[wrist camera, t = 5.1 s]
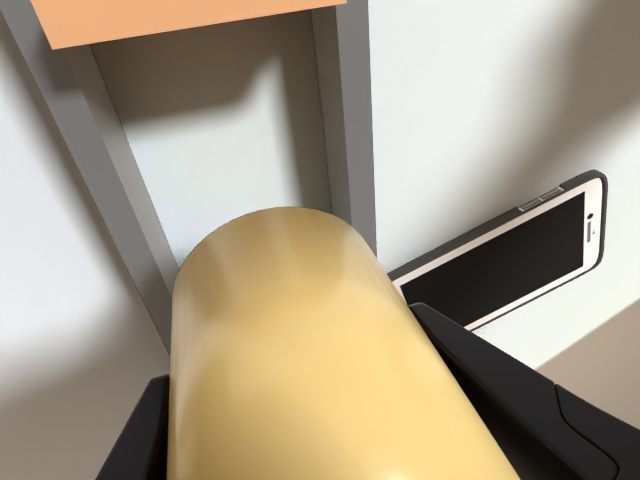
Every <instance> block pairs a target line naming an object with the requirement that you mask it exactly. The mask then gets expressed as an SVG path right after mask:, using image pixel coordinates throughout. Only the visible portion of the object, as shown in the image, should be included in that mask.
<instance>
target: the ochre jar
mask: <svg viewBox="0 0 640 480" xmlns="http://www.w3.org/2000/svg"><path fill="white" fill-rule="evenodd" d="M167 480H521V479H520V478H519V476H518V475H517V473H516V471H515V470H514V468H513V467H512V465H511V464H510V462H509V461H508V459H507V458H506V456H505V455H504V453H503V452H502V450H501V448H500V447H499V445H498V444H497V442H496V441H495V439H494V438H493V436H492V435H491V433H490V432H489V430H488V429H487V427H486V425H485V424H484V422H483V421H482V419H481V418H480V416H479V415H478V413H477V412H476V410H475V409H474V407H473V406H472V404H471V402H470V401H469V399H468V398H467V396H466V395H465V393H464V392H463V390H462V389H461V387H460V386H459V384H458V382H457V381H456V379H455V378H454V376H453V375H452V373H451V372H450V370H449V369H448V367H447V366H446V364H445V363H444V361H443V359H442V358H441V356H440V355H439V353H438V352H437V350H436V349H435V347H434V346H433V344H432V343H431V341H430V340H429V338H428V336H427V335H426V333H425V332H424V330H423V329H422V327H421V326H420V324H419V323H418V321H417V320H416V318H415V317H414V315H413V313H412V312H411V310H410V309H409V307H408V306H407V304H406V303H405V301H404V300H403V298H402V297H401V295H400V294H399V292H398V290H397V289H396V287H395V286H394V284H393V283H392V281H391V280H390V278H389V277H388V275H387V274H386V272H385V271H384V269H383V267H382V266H381V264H380V263H379V261H378V260H377V258H376V257H375V255H374V254H373V252H372V251H371V249H370V247H369V246H368V244H367V243H366V241H365V240H364V239H363V237H362V236H361V235H360V234H359V233H358V232H357V231H356V230H355V229H354V228H353V227H352V226H351V225H349V224H348V223H347V222H345V221H344V220H342V219H340V218H338V217H336V216H334V215H332V214H329V213H326V212H323V211H320V210H316V209H311V208H305V207H275V208H270V209H264V210H259V211H256V212H252V213H249V214H245V215H243V216H241V217H238V218H236V219H233V220H231V221H229V222H228V223H226V224H224V225H222V226H220V227H219V228H217V229H216V230H214V231H213V232H212V233H210V234H209V235H208V236H206V237H205V238H204V239H203V240H202V241H201V242H200V243H199V244H198V245H197V246H196V247H195V248H194V249H193V250H192V251H191V253H190V254H189V255H188V256H187V258H186V259H185V261H184V263H183V264H182V266H181V268H180V270H179V272H178V275H177V277H176V280H175V284H174V288H173V298H172V328H171V360H170V391H169V422H168V453H167Z"/></svg>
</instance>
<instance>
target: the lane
mask: <svg viewBox="0 0 640 480" xmlns="http://www.w3.org/2000/svg"><path fill="white" fill-rule="evenodd" d="M0 11H1V13H2V15H3V17H4V19H5V21H6V23H7V25H8V27H9V29H10V31H11V33H12V35H13V37H14V39H15V41H16V43H17V45H18V47H19V49H20V51H21V53H22V55H23V57H24V59H25V62H26V64H27V66H28V68H29V70H30V72H31V74H32V76H33V78H34V80H35V82H36V84H37V86H38V88H39V90H40V92H41V94H42V96H43V98H44V100H45V102H46V104H47V106H48V108H49V110H50V112H51V114H52V116H53V119H54V121H55V123H56V125H57V127H58V129H59V131H60V133H61V135H62V137H63V139H64V141H65V143H66V145H67V147H68V149H69V151H70V153H71V155H72V157H73V159H74V161H75V163H76V165H77V167H78V169H79V171H80V174H81V176H82V178H83V180H84V182H85V184H86V186H87V188H88V190H89V192H90V194H91V196H92V198H93V200H94V202H95V204H96V206H97V208H98V210H99V212H100V214H101V216H102V218H103V220H104V222H105V224H106V226H107V228H108V231H109V233H110V235H111V237H112V239H113V241H114V243H115V245H116V247H117V249H118V251H119V253H120V255H121V257H122V259H123V261H124V263H125V265H126V267H127V269H128V271H129V273H130V275H131V277H132V279H133V281H134V283H135V285H136V288H137V290H138V292H139V294H140V296H141V298H142V300H143V302H144V304H145V306H146V308H147V310H148V312H149V314H150V316H151V318H152V320H153V322H154V324H155V326H156V328H157V330H158V332H159V334H160V336H161V338H162V340H163V343H164V345H165V347H166V349H167V351H168V353H169V355H170V357H171V328H172V298H173V288H174V284H175V280H176V277H177V275H178V272H179V269H178V267H177V264H176V261H175V259H174V256H173V254H172V251H171V249H170V246H169V244H168V241H167V239H166V236H165V234H164V231H163V229H162V226H161V224H160V221H159V219H158V216H157V214H156V211H155V209H154V206H153V204H152V201H151V199H150V196H149V194H148V191H147V189H146V186H145V184H144V181H143V179H142V176H141V173H140V171H139V168H138V166H137V163H136V161H135V158H134V156H133V153H132V151H131V148H130V146H129V143H128V141H127V138H126V136H125V133H124V131H123V128H122V126H121V123H120V121H119V118H118V116H117V113H116V111H115V108H114V106H113V103H112V101H111V98H110V96H109V93H108V91H107V88H106V86H105V83H104V80H103V78H102V75H101V73H100V70H99V68H98V65H97V63H96V60H95V58H94V55H93V53H92V50H91V48H90V45H89V44H85V45H78V46H72V47H66V48H59V49H53V50H52V48H51V45H50V43H49V41H48V39H47V36H46V34H45V32H44V30H43V28H42V25H41V23H40V21H39V19H38V16H37V14H36V12H35V10H34V8H33V5H32V3H31V1H30V0H0ZM311 14H312V24H313V33H314V43H315V52H316V62H317V71H318V80H319V90H320V99H321V109H322V118H323V128H324V137H325V147H326V156H327V166H328V175H329V184H330V194H331V203H332V213H333V215H334V216H336V217H338V218H340V219H342V220H344V221H345V222H347V223H348V224H349V225H351V226H352V227H353V228H354V229H355V230H356V231H357V232H358V233H359V234H360V235H361V236H362V237H363V239H364V240H365V241H366V243H367V244H368V246H369V247H370V249H371V251H372V252H373V254H374V255H375V257H376V258H377V247H376V219H375V190H374V162H373V133H372V104H371V76H370V47H369V18H368V0H347V3H344V4H338V5H332V6H325V7H319V8H313V9H311Z"/></svg>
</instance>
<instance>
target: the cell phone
mask: <svg viewBox="0 0 640 480" xmlns="http://www.w3.org/2000/svg"><path fill="white" fill-rule="evenodd" d="M607 193H608V182H607V177H606V176H605V175H604V174H603V173H601V172H599V171H597V170H590V171H587V172H585V173H582V174H580V175H578V176H576V177H574V178H572V179H570V180H568V181H566V182H564V183H562V184H560V186H559V187H558V188H556V189H554V190H552V191H550V192H548V193H546V194H544V195H542V196H540V197H538V198H536V199H534V200H532V201H530V202H528V203H527V204H525V205H523V206H521V207H519V208H517V207H515V208H513V209H511V210H509V211H507V212H506V213H504V214H502V215H500V216H498V217H496V218H494V219H492V220H490V221H488V222H486V223H484V224H482V225H480V226H478V227H476V228H474V229H472V230H470V231H468V232H467V233H465V234H463V235H461V236H459V237H457V238H455V239H453V240H451V241H449V242H447V243H445V244H443V245H441V246H439V247H438V248H436V249H434V250H432V251H430V252H428V253H426V254H424V255H422V256H420V257H418V258H416V259H414V260H412V261H410V262H408V263H407V264H405V265H403V266H401V267H399V268H397V269H395V270H393V271H391V272H389V273H387V275H388V277H389V278H390V280H391V281H392V283H393V284H394V286H395V287H396V289H397V290H398V292H399V294H400V295H401V297H402V298H403V300H404V301H405V303H406V304H407V306H408V305H412V304H416V303H420V302H421V303H424V304H426V305H427V306H429V307H431V308H432V309H434V310H436V311H437V312H439V313H441V314H442V315H444V316H446V317H447V318H449V319H451V320H452V321H454V322H456V323H457V324H459V325H461V326H462V327H464V328H466V329H467V330H469V331H470V332H472V331H474V330H476V329H478V328H480V327H482V326H484V325H486V324H488V323H490V322H492V321H494V320H496V319H498V318H500V317H501V316H503V315H505V314H507V313H509V312H511V311H513V310H515V309H517V308H519V307H521V306H523V305H525V304H527V303H529V302H531V301H533V300H535V299H537V298H539V297H541V296H543V295H545V294H547V293H549V292H550V291H552V290H554V289H556V288H558V287H560V286H562V285H564V284H566V283H568V282H570V281H572V280H574V279H576V278H578V277H580V276H582V275H584V274H585V273H587V272H589V271H590V270H592V269H594V268H595V267H596V266H598V265H599V263H600V262H601V260H602V257H603V252H604V240H605V224H606V209H607Z"/></svg>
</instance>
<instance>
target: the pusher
mask: <svg viewBox="0 0 640 480" xmlns="http://www.w3.org/2000/svg"><path fill="white" fill-rule="evenodd" d="M30 1H31V3H32V5H33V8H34V10H35V12H36V14H37V16H38V19H39V21H40V23H41V25H42V28H43V30H44V32H45V34H46V36H47V39H48V41H49V43H50V45H51V48H52V50H53V49H59V48H66V47H72V46H78V45H85V44H91V43H97V42H104V41H110V40H116V39H123V38H129V37H135V36H142V35H148V34H154V33H161V32H167V31H173V30H180V29H186V28H192V27H199V26H205V25H211V24H218V23H224V22H230V21H237V20H243V19H249V18H256V17H262V16H268V15H275V14H281V13H287V12H294V11H300V10H306V9H313V8H319V7H325V6H332V5H338V4H344V3H347V0H30Z"/></svg>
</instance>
